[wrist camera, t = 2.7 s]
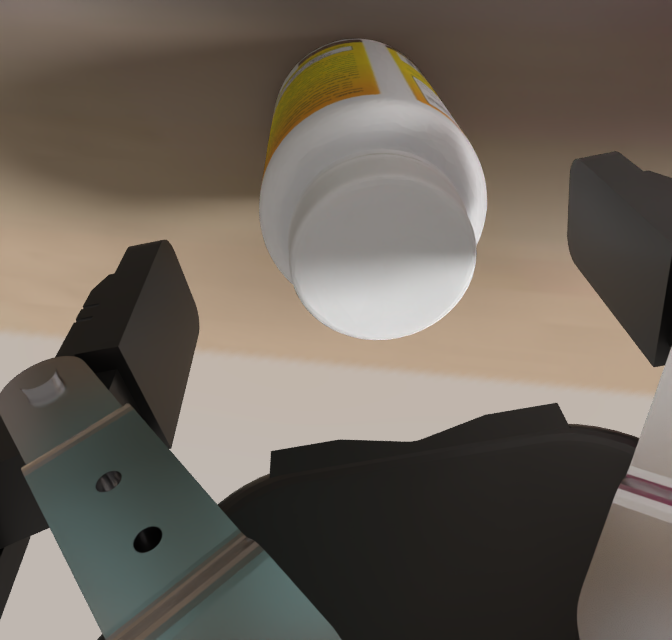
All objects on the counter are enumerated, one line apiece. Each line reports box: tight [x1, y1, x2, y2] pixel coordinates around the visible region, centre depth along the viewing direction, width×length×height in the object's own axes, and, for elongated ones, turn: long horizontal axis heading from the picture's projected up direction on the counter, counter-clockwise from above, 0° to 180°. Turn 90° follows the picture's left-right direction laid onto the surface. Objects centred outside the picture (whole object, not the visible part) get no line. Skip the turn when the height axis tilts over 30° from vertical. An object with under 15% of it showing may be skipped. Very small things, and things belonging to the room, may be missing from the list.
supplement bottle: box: [259, 39, 487, 340], centre depth 16 cm, size 6×6×10 cm
